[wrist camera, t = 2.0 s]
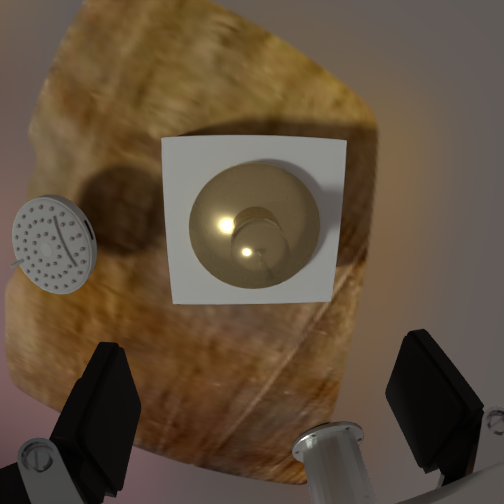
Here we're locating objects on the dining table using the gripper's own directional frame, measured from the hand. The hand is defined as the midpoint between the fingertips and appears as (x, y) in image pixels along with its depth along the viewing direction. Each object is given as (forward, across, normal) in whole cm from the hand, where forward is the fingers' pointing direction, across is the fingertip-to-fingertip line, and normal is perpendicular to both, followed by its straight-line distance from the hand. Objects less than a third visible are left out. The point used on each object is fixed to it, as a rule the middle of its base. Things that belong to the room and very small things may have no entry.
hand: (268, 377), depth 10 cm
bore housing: (+22, -1, 0) cm, 22 cm away
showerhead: (+22, +18, +1) cm, 29 cm away
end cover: (+21, 0, 0) cm, 21 cm away
